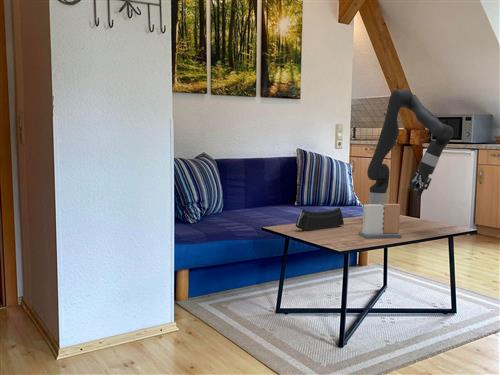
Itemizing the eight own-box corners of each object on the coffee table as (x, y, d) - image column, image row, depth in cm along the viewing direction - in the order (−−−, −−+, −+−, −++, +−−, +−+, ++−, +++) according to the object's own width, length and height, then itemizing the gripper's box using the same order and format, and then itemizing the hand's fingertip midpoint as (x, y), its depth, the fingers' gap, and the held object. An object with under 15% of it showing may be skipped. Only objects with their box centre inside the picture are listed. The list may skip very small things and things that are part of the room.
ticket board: (358, 234, 251) (359, 203, 249) (392, 233, 254) (393, 202, 252) (366, 238, 241) (368, 206, 239) (401, 237, 244) (403, 205, 242)
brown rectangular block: (380, 231, 249) (382, 204, 247) (395, 231, 250) (397, 203, 249) (383, 233, 246) (385, 204, 244) (398, 232, 248) (400, 204, 246)
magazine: (343, 209, 272) (302, 196, 256) (348, 210, 270) (306, 197, 253) (335, 239, 272) (294, 228, 255) (339, 241, 269) (298, 230, 252)
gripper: (415, 157, 253) (402, 186, 257) (428, 164, 240) (414, 195, 244) (428, 161, 254) (415, 190, 259) (441, 169, 241) (427, 199, 245)
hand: (414, 192), depth 251 cm, fingers open, 8 cm apart
